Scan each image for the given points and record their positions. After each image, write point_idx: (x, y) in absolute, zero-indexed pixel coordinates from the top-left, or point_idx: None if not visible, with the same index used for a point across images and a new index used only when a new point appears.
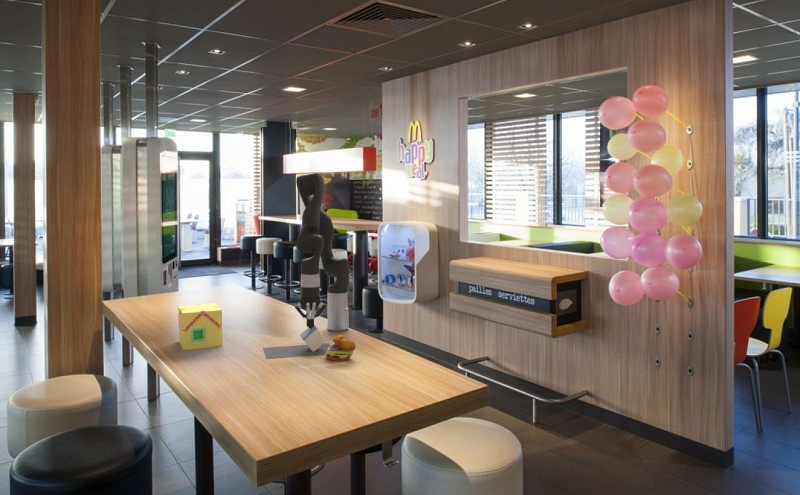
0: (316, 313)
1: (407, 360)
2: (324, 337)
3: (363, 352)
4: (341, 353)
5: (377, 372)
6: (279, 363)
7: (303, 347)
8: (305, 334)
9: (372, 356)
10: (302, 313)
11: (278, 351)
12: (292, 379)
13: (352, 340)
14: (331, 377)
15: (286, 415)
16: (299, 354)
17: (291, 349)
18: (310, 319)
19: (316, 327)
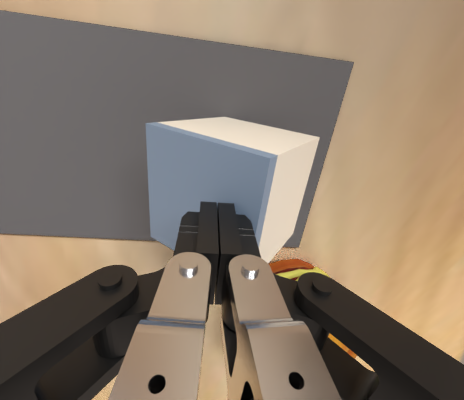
0: (316, 333)
1: (435, 340)
2: (283, 243)
3: (393, 252)
4: None
5: None
6: (64, 282)
7: (188, 102)
8: (173, 219)
9: (386, 294)
10: (72, 397)
11: (39, 133)
12: (109, 386)
13: (354, 358)
14: (204, 390)
15: None
16: (149, 216)
17: (115, 118)
18: (210, 303)
19: (271, 209)
